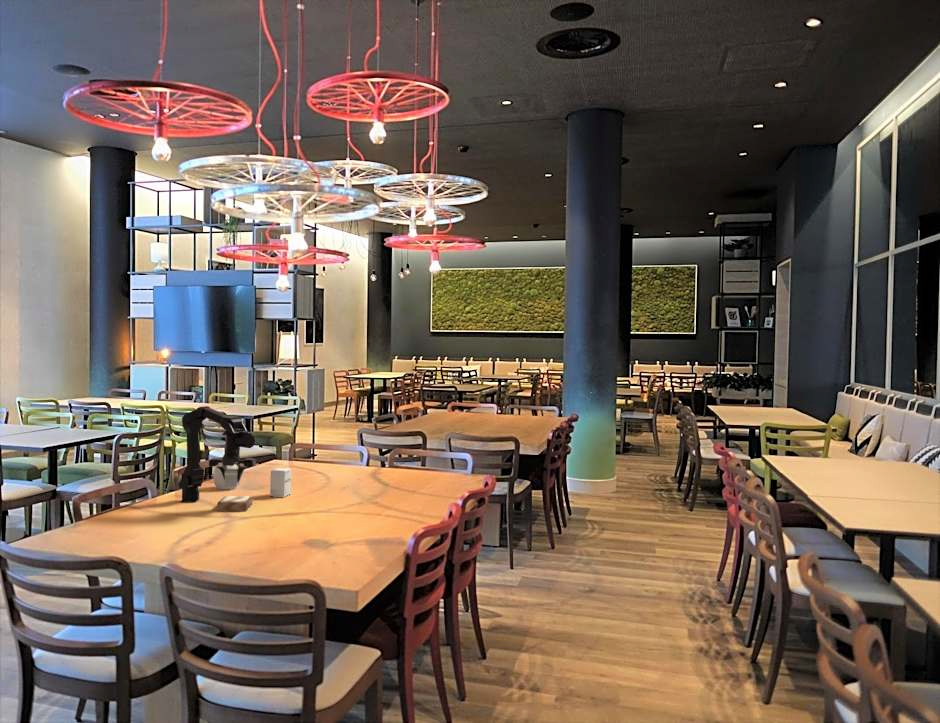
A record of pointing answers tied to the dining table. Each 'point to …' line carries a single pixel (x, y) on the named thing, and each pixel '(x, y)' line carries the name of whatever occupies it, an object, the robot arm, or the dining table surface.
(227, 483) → the grey striped cube
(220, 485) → the decorative egg
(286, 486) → the supplement box
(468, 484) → the dining table surface
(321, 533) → the dining table surface
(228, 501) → the stand
